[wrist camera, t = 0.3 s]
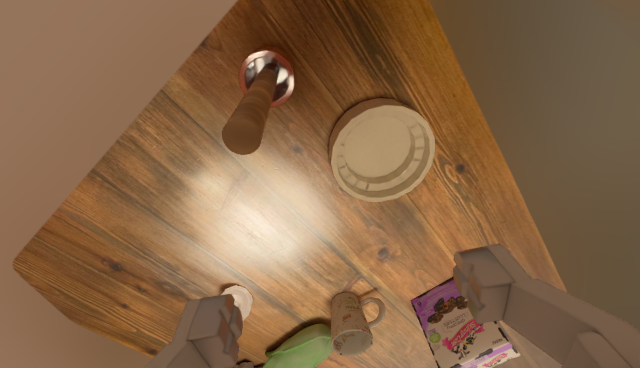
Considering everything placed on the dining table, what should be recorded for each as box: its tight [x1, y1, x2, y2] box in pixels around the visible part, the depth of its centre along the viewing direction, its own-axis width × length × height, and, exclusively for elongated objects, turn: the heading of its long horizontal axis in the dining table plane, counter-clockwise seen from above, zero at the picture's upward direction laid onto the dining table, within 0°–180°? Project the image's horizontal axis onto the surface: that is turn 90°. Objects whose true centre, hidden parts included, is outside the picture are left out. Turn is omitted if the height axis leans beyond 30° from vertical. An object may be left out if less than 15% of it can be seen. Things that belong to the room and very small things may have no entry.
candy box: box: [411, 278, 521, 368], centre depth 60 cm, size 14×6×16 cm, turn 129°
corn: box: [263, 324, 333, 368], centre depth 68 cm, size 8×8×20 cm
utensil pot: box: [238, 46, 295, 108], centre depth 38 cm, size 7×7×7 cm
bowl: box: [328, 98, 435, 202], centre depth 46 cm, size 16×16×5 cm
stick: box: [222, 63, 279, 155], centre depth 30 cm, size 2×2×26 cm
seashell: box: [221, 285, 253, 321], centre depth 61 cm, size 8×5×8 cm
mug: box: [331, 292, 385, 356], centre depth 62 cm, size 8×13×10 cm, turn 122°
